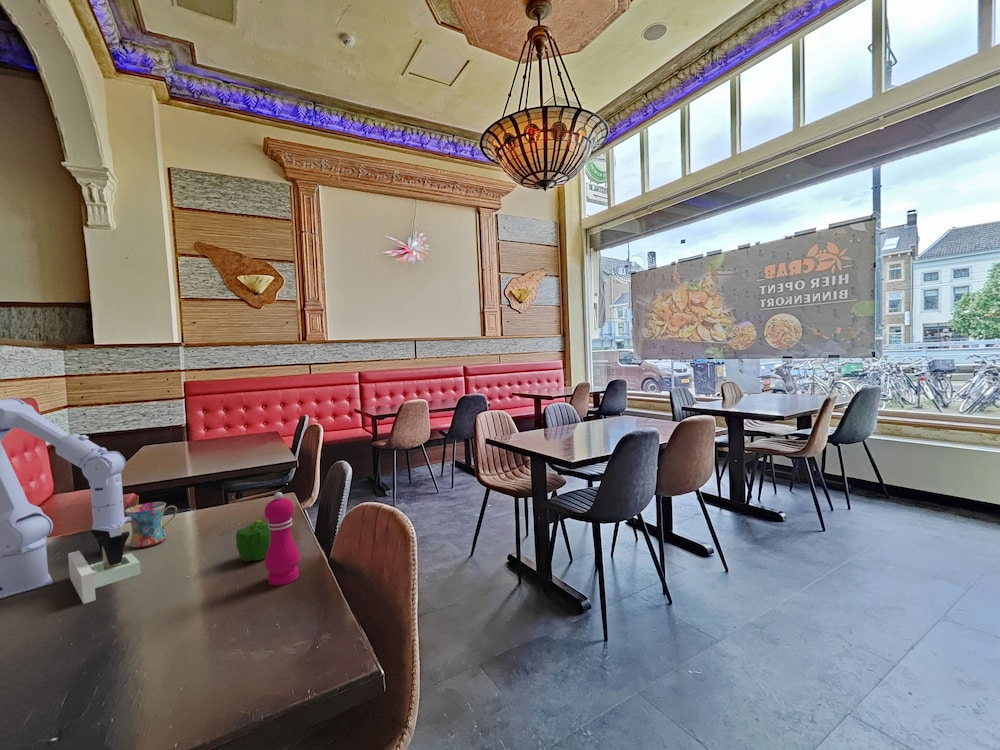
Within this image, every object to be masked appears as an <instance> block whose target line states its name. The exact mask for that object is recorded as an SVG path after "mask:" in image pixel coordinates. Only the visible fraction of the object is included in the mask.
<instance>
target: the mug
mask: <svg viewBox="0 0 1000 750" xmlns="http://www.w3.org/2000/svg"><path fill="white" fill-rule="evenodd" d="M166 505H167V503H166V502H164V501H155V502H154V501H153V502H147V503H141V504H138V505H134V506H131V507H128V508H126V509H125V510H124V514H126V517H130V518H131V521H129V522H130V524H131V529H132V530H131V531H132V536H131V539H130V542H129V547H131V548H135V549H137V548H147V547H151V546H155V545H158V544H159V543H161V542H164V541H165V540H167V534H166V533H165V531H164V530H167V528H166V526H167V525H168V524H169V523H171V522H172V521H173V519H174V518H175V517H176V515H177V512H178V507H177V506H175V505H169V506H166ZM169 508H174V509H175V511H174V513H173V515H172V517H170V519H169V520H168V521H167V522H165V523H164V524H163V523H162V522H163V520H162V519H163V516H164V515H165V512H166V511H167V510H168V509H169Z"/></svg>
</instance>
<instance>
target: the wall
mask: <svg viewBox="0 0 1000 750" xmlns="http://www.w3.org/2000/svg"><path fill="white" fill-rule="evenodd" d="M67 556H68V571H69V579H70V580H71V583H72V584H73V587H74V588H75V591H76V592H77V594H78V596H79V599H80V600H81V602H82V604H83V605H84V604H88V603H90V602H94V601H97V597H96V588H95V582H94V572H93V571H92V569H91V568H90V566H89V565H90V564H89V563H88V562H87V560H86V559H85V557H84V555H83V554H82V552H81V551H80V550H77V551H73V552H72V551H71V552H69V553H67Z"/></svg>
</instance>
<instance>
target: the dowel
mask: <svg viewBox="0 0 1000 750" xmlns="http://www.w3.org/2000/svg"><path fill="white" fill-rule="evenodd" d="M102 552H103V556H102V561H103V565H104V570H107V569H110V568H114V567H117V566H121V563H118V564H114V565H111V566H110V565H109V563H108V561H107V557H106V554H105V550H104V548H103V546H102Z"/></svg>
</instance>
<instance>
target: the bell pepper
mask: <svg viewBox="0 0 1000 750" xmlns="http://www.w3.org/2000/svg"><path fill="white" fill-rule="evenodd" d="M235 540H236V542H235V543H236V548H237V552H238V553H239V554H238V555H239V557H240V559H241V560H242V561H243V562H245V563H248V562H252V561H261V560H265V557H266V554H267V551H268V548H269V545H270V540H271V532H270V529H268V522H263V521H262V520H261V519H256V520H254V521H253V522H252V524H249V525H248V526H247V527H245V528H240V529H238V530H237V531H236V533H235Z"/></svg>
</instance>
